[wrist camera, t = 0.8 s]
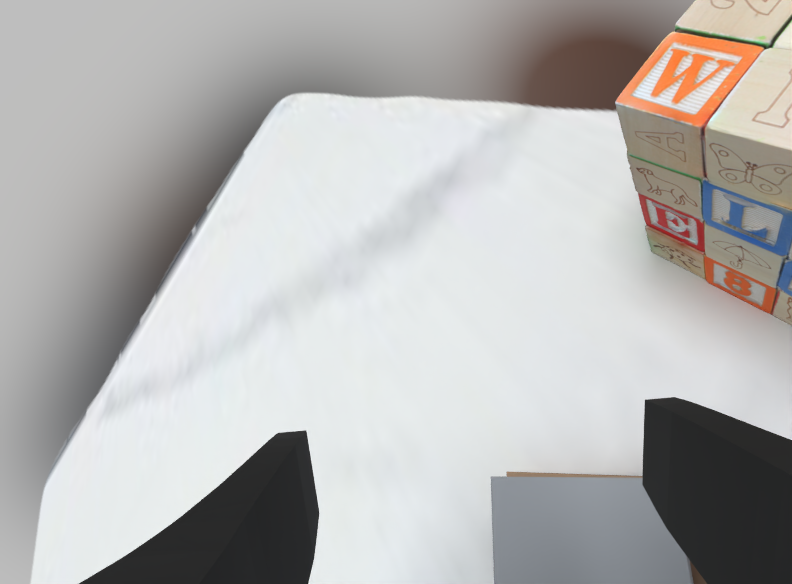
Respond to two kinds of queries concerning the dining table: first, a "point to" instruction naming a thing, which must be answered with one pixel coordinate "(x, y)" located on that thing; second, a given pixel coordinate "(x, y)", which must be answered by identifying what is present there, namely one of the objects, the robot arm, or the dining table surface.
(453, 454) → the dining table surface
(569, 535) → the grey flat square block
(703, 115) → the stack of blocks
